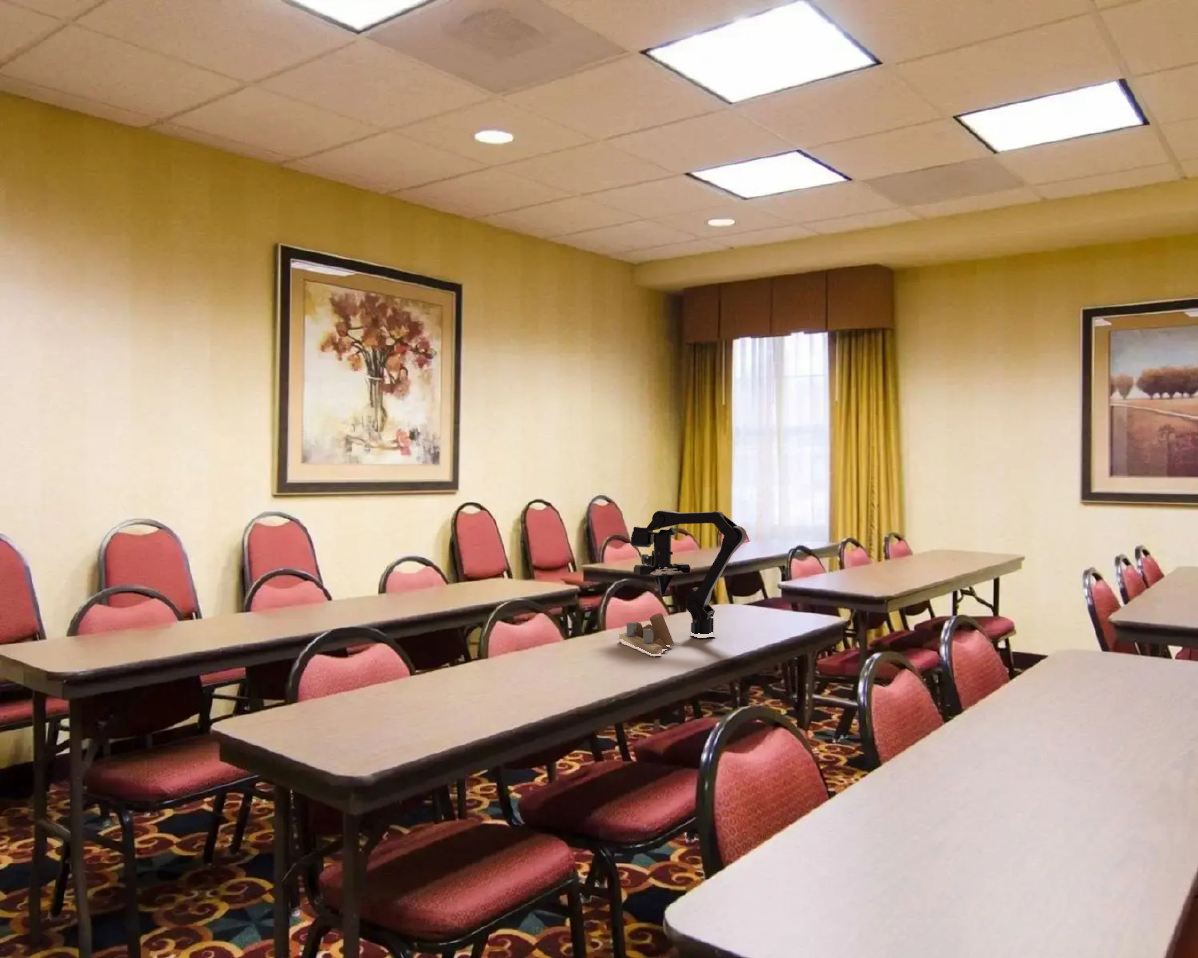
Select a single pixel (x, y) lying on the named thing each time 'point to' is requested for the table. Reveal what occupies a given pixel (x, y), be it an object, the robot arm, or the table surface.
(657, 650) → the maple stop rail
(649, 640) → the steel bench dogs
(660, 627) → the wooden block set
